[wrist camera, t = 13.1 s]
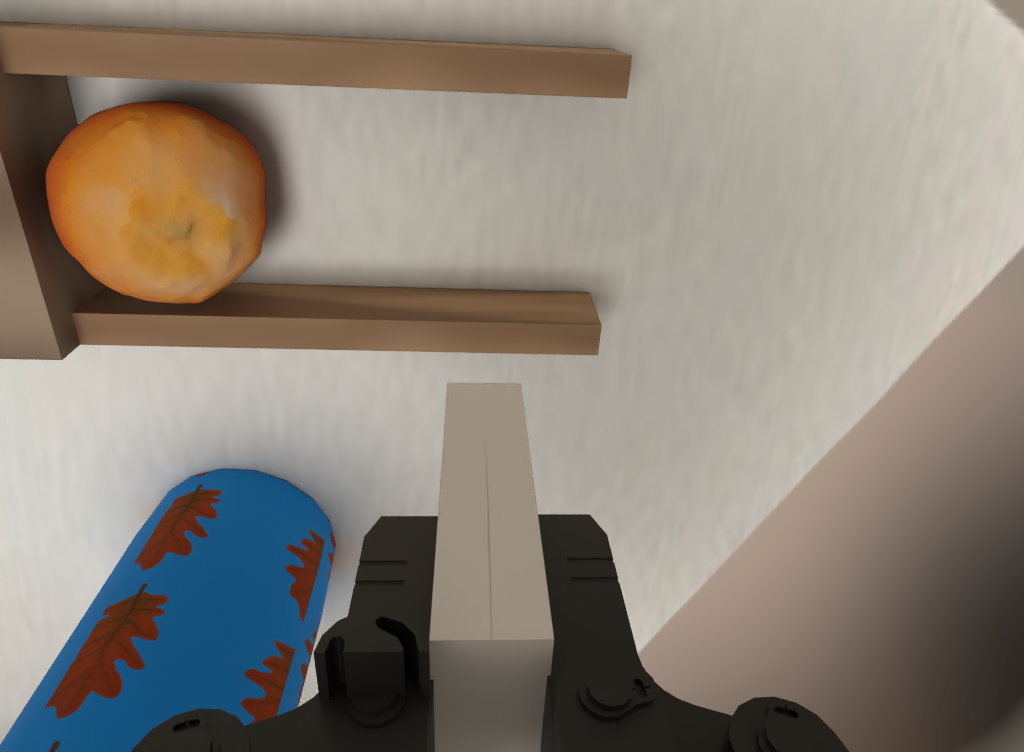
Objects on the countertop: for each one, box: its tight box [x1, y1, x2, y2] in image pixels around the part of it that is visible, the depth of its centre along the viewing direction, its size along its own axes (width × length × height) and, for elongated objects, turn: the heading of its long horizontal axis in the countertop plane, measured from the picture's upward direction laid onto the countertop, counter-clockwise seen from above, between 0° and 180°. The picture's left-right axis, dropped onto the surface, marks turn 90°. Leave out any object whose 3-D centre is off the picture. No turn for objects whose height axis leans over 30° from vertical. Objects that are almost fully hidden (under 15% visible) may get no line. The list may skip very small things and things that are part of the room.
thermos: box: [0, 469, 335, 752], centre depth 30 cm, size 11×11×25 cm
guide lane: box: [0, 22, 632, 360], centre depth 29 cm, size 12×26×6 cm, turn 88°
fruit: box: [46, 101, 267, 303], centre depth 29 cm, size 8×8×8 cm
